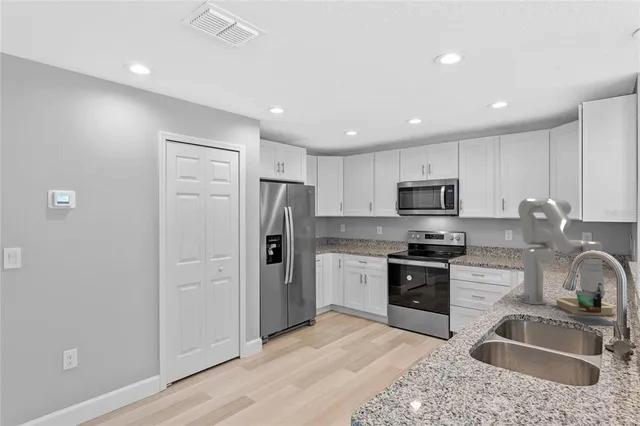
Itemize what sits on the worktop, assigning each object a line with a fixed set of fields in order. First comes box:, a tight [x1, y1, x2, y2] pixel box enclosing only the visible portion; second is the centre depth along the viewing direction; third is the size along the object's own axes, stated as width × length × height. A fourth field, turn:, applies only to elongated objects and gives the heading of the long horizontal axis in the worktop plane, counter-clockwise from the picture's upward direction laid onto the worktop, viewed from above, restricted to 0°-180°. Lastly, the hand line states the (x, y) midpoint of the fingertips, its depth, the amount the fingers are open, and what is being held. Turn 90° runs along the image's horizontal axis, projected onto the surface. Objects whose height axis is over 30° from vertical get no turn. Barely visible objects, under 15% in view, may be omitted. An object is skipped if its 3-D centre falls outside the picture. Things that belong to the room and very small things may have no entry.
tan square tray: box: [552, 296, 617, 316], centre depth 186 cm, size 22×22×4 cm
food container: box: [575, 289, 603, 313], centre depth 167 cm, size 12×6×10 cm, turn 96°
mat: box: [567, 315, 614, 327], centre depth 168 cm, size 14×14×1 cm
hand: (592, 305), depth 168 cm, fingers closed on food container, 5 cm apart
